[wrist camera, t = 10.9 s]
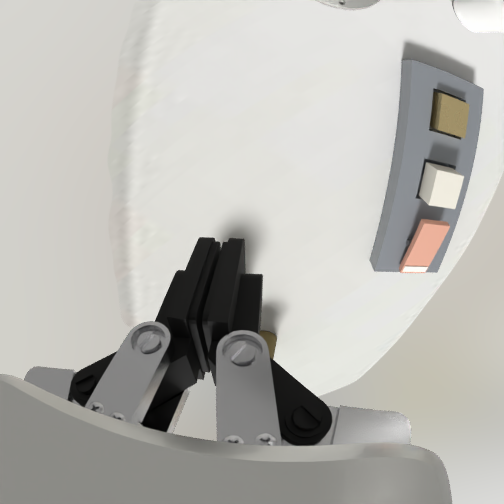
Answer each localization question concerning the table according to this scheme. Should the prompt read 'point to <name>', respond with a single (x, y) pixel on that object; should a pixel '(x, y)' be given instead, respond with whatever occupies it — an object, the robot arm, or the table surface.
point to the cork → (269, 341)
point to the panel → (423, 162)
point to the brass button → (449, 114)
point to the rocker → (424, 246)
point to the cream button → (440, 186)
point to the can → (480, 15)
